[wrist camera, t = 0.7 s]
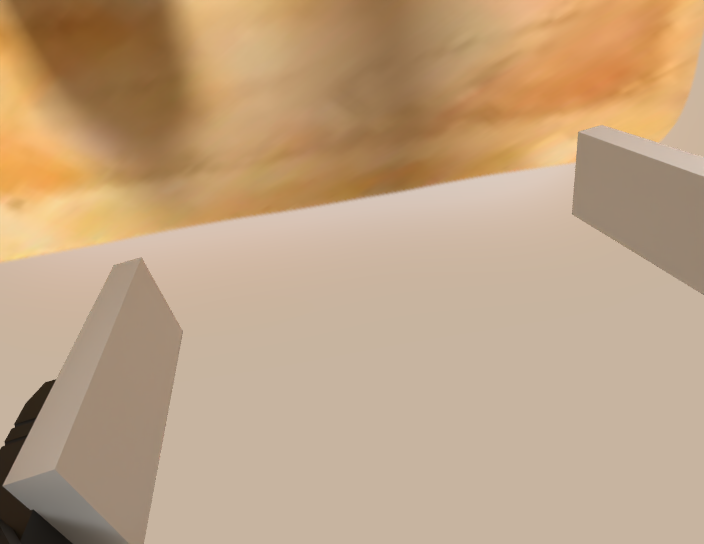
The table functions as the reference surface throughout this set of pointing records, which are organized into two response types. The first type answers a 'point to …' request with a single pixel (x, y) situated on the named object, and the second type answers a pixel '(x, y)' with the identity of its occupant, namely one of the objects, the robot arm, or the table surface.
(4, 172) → the table surface
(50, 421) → the robot arm
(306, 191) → the table surface
